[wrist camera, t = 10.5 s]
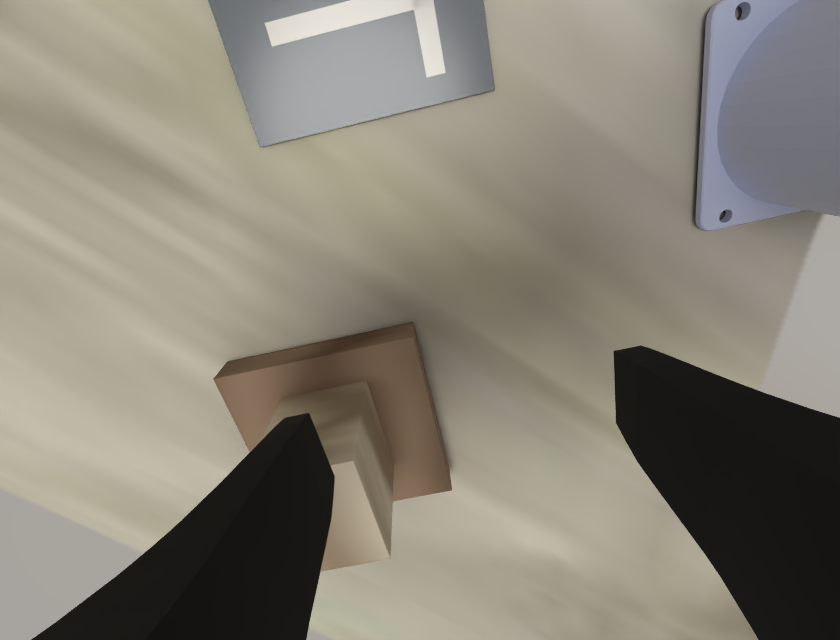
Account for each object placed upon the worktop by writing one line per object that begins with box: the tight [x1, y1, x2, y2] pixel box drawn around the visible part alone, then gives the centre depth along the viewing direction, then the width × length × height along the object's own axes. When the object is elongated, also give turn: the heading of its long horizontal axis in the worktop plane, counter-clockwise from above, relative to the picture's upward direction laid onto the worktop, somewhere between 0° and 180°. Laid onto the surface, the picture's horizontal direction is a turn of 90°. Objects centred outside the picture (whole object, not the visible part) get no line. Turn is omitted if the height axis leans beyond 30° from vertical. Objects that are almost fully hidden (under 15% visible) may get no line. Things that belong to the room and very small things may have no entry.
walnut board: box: [214, 323, 452, 501], centre depth 20 cm, size 9×9×2 cm
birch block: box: [261, 381, 394, 571], centre depth 17 cm, size 4×5×5 cm
